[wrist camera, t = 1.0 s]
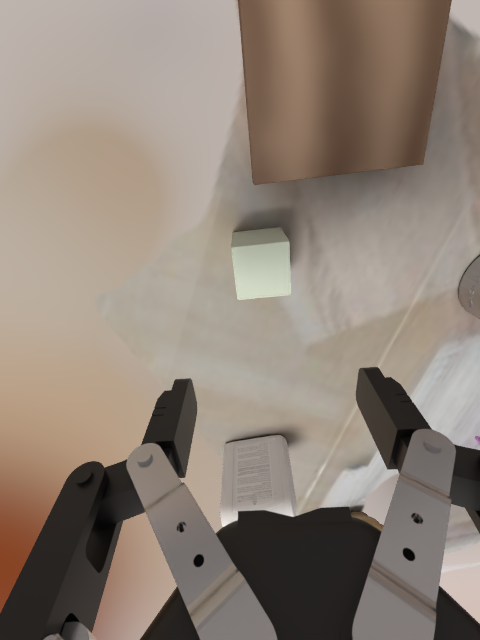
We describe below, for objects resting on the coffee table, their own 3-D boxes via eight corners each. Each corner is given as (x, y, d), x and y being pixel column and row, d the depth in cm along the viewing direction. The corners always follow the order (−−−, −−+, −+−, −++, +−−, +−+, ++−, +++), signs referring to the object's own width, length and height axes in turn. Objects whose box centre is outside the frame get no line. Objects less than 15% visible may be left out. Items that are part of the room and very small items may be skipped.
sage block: (280, 226, 30) (289, 241, 25) (282, 272, 32) (290, 294, 27) (232, 232, 30) (231, 247, 25) (237, 277, 33) (237, 300, 27)
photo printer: (227, 458, 48) (224, 545, 37) (220, 441, 46) (214, 528, 35) (288, 448, 47) (303, 535, 36) (284, 430, 45) (298, 517, 34)
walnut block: (430, -58, 21) (469, -102, 17) (399, 163, 27) (423, 164, 24) (235, -27, 21) (234, -63, 18) (252, 181, 28) (254, 184, 25)
